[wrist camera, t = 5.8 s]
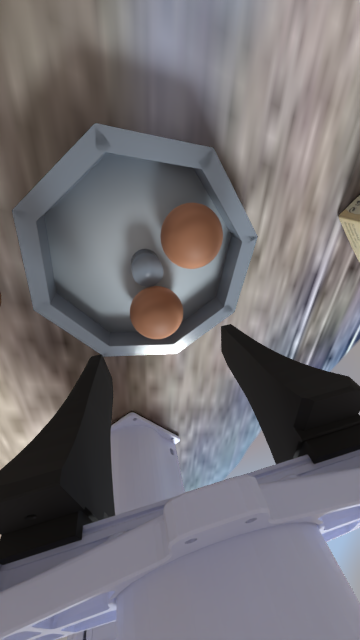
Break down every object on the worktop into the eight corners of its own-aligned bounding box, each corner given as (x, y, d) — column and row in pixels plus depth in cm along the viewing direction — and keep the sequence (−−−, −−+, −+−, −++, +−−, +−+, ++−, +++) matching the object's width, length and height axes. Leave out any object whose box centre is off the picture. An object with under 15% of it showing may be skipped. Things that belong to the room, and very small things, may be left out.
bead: (185, 300, 19) (200, 327, 16) (150, 328, 20) (157, 358, 17) (155, 267, 17) (166, 290, 14) (117, 299, 17) (119, 328, 14)
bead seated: (220, 233, 16) (244, 249, 13) (178, 267, 17) (192, 290, 14) (190, 184, 14) (211, 190, 11) (144, 225, 15) (151, 241, 12)
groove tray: (261, 267, 20) (279, 279, 18) (137, 360, 22) (139, 380, 20) (156, 69, 12) (164, 49, 10) (-16, 248, 14) (-39, 262, 12)
